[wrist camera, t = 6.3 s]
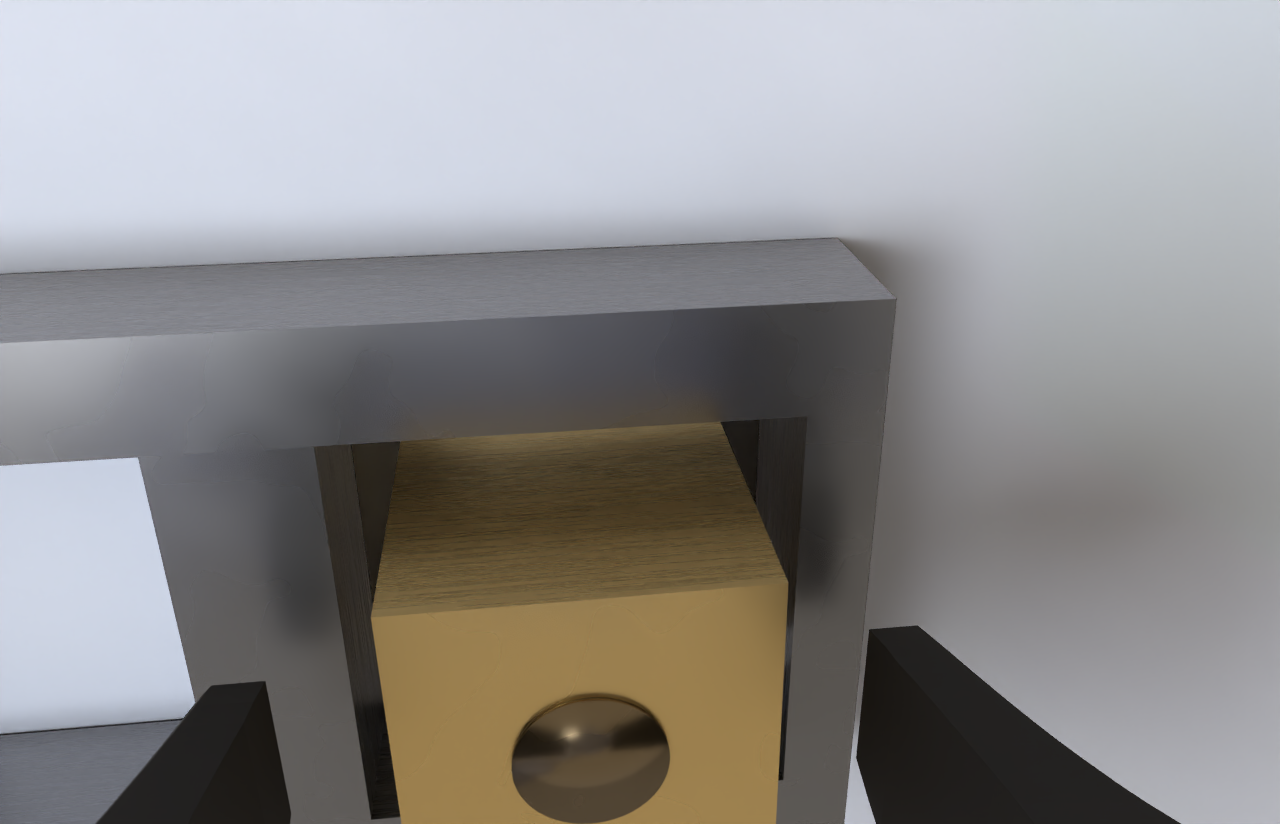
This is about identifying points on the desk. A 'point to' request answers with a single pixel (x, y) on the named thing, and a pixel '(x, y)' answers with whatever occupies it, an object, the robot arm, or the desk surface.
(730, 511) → the nut block
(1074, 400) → the desk surface
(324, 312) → the grey metal flat frame
